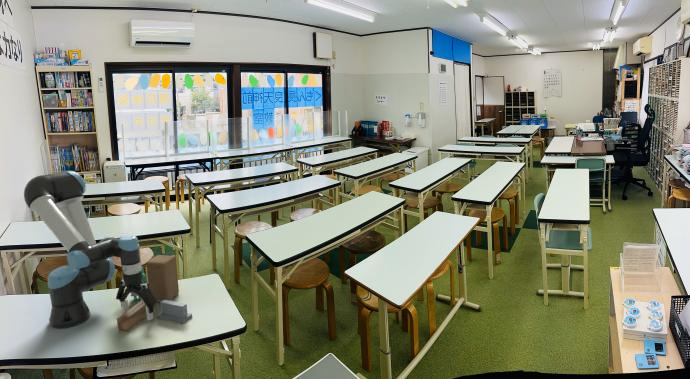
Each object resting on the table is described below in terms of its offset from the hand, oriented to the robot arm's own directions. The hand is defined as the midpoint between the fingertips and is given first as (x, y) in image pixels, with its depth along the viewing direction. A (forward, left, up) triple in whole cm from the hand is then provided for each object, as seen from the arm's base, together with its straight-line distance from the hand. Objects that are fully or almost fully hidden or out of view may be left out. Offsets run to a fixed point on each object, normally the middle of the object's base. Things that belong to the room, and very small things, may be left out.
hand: (138, 316), depth 189 cm
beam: (0, 0, -2) cm, 2 cm away
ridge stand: (+14, +7, -1) cm, 15 cm away
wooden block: (-4, +21, -2) cm, 22 cm away
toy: (-15, +15, -2) cm, 22 cm away
